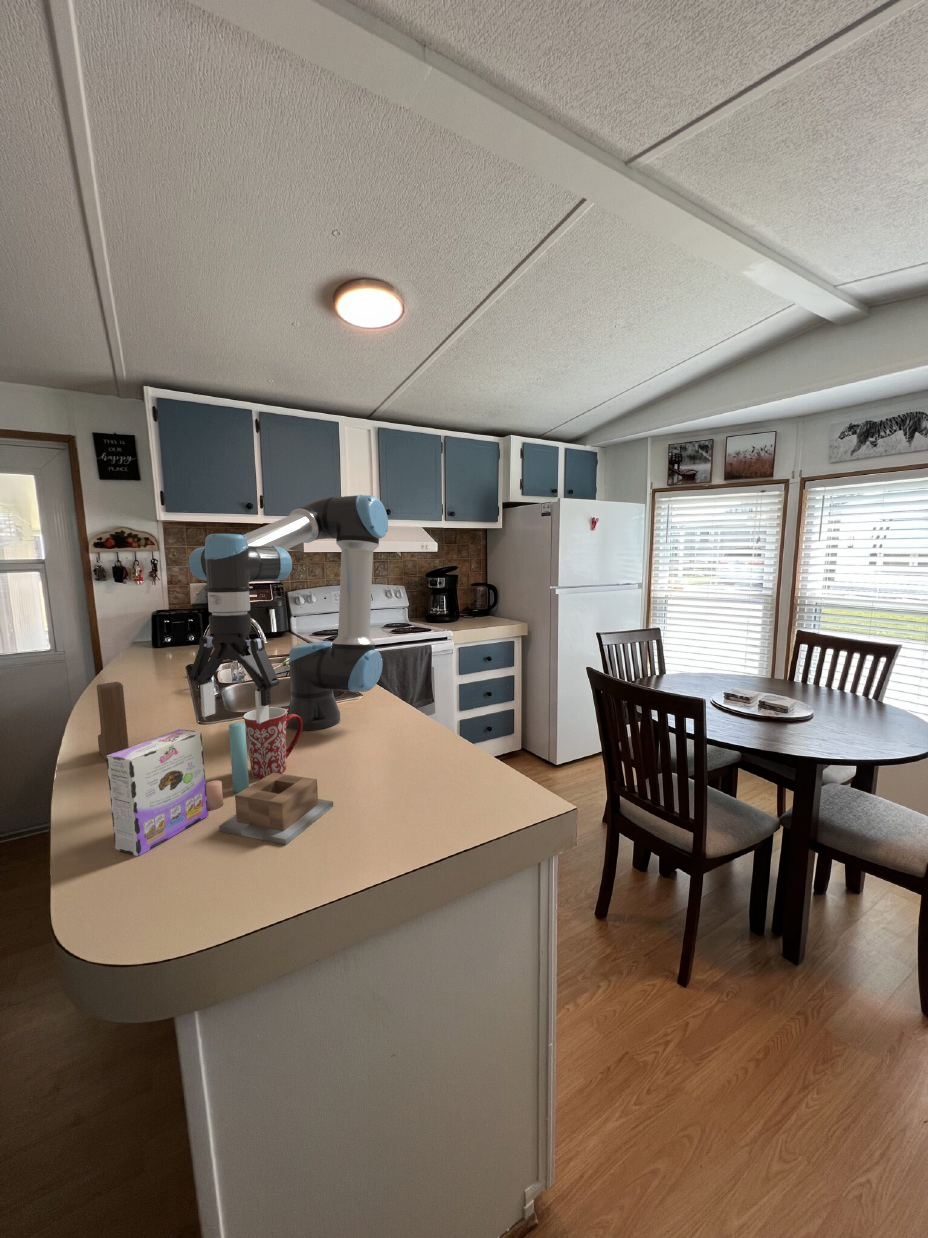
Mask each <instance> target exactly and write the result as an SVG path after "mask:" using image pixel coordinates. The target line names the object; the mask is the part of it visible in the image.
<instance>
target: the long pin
mask: <svg viewBox="0 0 928 1238" xmlns="http://www.w3.org/2000/svg"><path fill="white" fill-rule="evenodd" d="M228 732H229V734H228V735H229V745H230V749H229V751H230V762H231V778H232V779H231V780H232V792H233V793H234V794H235V795H236V794H238V793H239V792H241V791H243V790H244V789H246V788H248V787H250V783H249V782H250V781H249V766H248V764H249V763H248V749H247V748H248V746H247V734H246V727H245V721H243V722H241V721H238V722H231V723H230V724H229V725H228Z"/></svg>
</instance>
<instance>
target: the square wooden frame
mask: <svg viewBox="0 0 928 1238" xmlns="http://www.w3.org/2000/svg"><path fill="white" fill-rule="evenodd" d="M318 791H319V790H318V779H316V778H312V777H311V778H310V777H304V776H298V775H293V774H292V775H291V774H286V773H281V774H280V773H271V774H270V775H268V776H266V777H265V778H260V780H258V781H257V782H255V783H252V784H251V785H249V787H248V788H246V789H244V790H243V791H241V792H239V793H238V794H236V793H235V795H234V799H235V800H234V802H235V803H234V804H235V813H236V814H235V815H234V816H232V817H230V818H229V819H228V820H226V821H224V822H223V823H221V824H220V825H218V829H219V832H223V833H228V834H232V835H237V836H241V837H247V838H252V839H255V840H260V841H266V842H270V843H274V844H279V845H284V846H287V845H288V844H290V843H291V842H292V841H293V840H294V839H295V838H297V837H298V836H299V835H300V834H301V833H303V832H304V831H305V830H306V829H307V828H309V827H310V826H312V824H313V823H315V822H316V821H318V819H320V818H321V817H322V816H323V815H325V814H326V813H327V812H328V811H330V810H331V809H332V808H334V801H333V800H327V799H323V798H319V796H318V795H319V793H318Z"/></svg>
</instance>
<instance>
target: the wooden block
mask: <svg viewBox="0 0 928 1238" xmlns="http://www.w3.org/2000/svg"><path fill="white" fill-rule="evenodd" d="M96 692H97V693H96V694H97V702H98V713H99V722H100V734H98V735H97V742H98V743H97V744H98V751H99V753H100V754H101V755H102V756H103V757H104V759H106V761H107V757H106V756H107V755H110V754H113V753H116V752H118V751H121V750H124V749H127V748H129V737H128V735H129V734H128V725H127V715H126V713H127V712H126V705H125V693H124V692H125V691H124V684H123V683H121V682H119V681H112V682H106V683H100V684H97V685H96Z"/></svg>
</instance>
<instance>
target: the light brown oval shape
mask: <svg viewBox="0 0 928 1238" xmlns="http://www.w3.org/2000/svg"><path fill="white" fill-rule="evenodd" d="M205 783H206V794H207V805H208V811H212V810H214V811H215V810H217V809H220V808H222V807H223V805H224V796H223V782H222V780H210V781H208V782H205Z"/></svg>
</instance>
